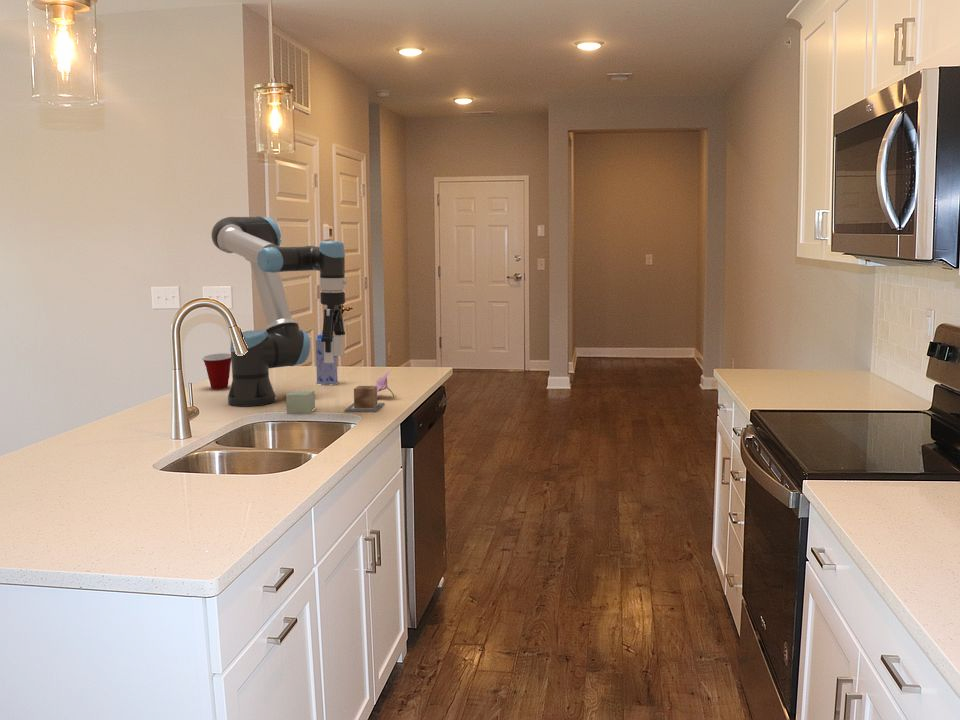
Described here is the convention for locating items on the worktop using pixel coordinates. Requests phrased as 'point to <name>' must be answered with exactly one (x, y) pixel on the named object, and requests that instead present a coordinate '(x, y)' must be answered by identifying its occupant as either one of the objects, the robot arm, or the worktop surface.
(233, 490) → the worktop surface
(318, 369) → the aerosol can
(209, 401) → the worktop surface
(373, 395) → the walnut block
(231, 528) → the worktop surface
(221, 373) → the plastic cup
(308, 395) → the sage block
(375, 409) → the slate build plate
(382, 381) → the lily
